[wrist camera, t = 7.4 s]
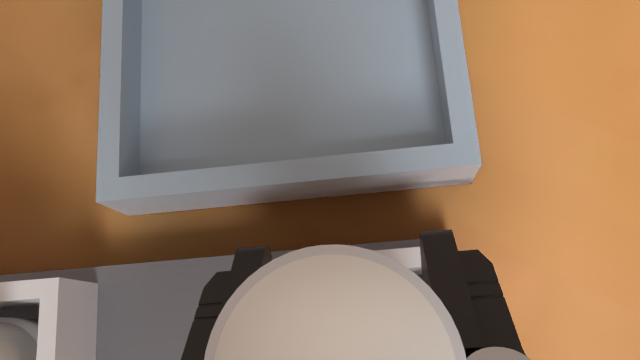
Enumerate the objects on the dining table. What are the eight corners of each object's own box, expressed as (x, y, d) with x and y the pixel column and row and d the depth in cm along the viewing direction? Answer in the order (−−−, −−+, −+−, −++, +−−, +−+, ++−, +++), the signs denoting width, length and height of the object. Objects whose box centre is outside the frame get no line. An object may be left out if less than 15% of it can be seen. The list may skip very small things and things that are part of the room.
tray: (428, -114, 24) (432, -163, 22) (471, 183, 21) (482, 164, 18) (133, -71, 25) (106, -113, 23) (128, 215, 22) (95, 201, 19)
